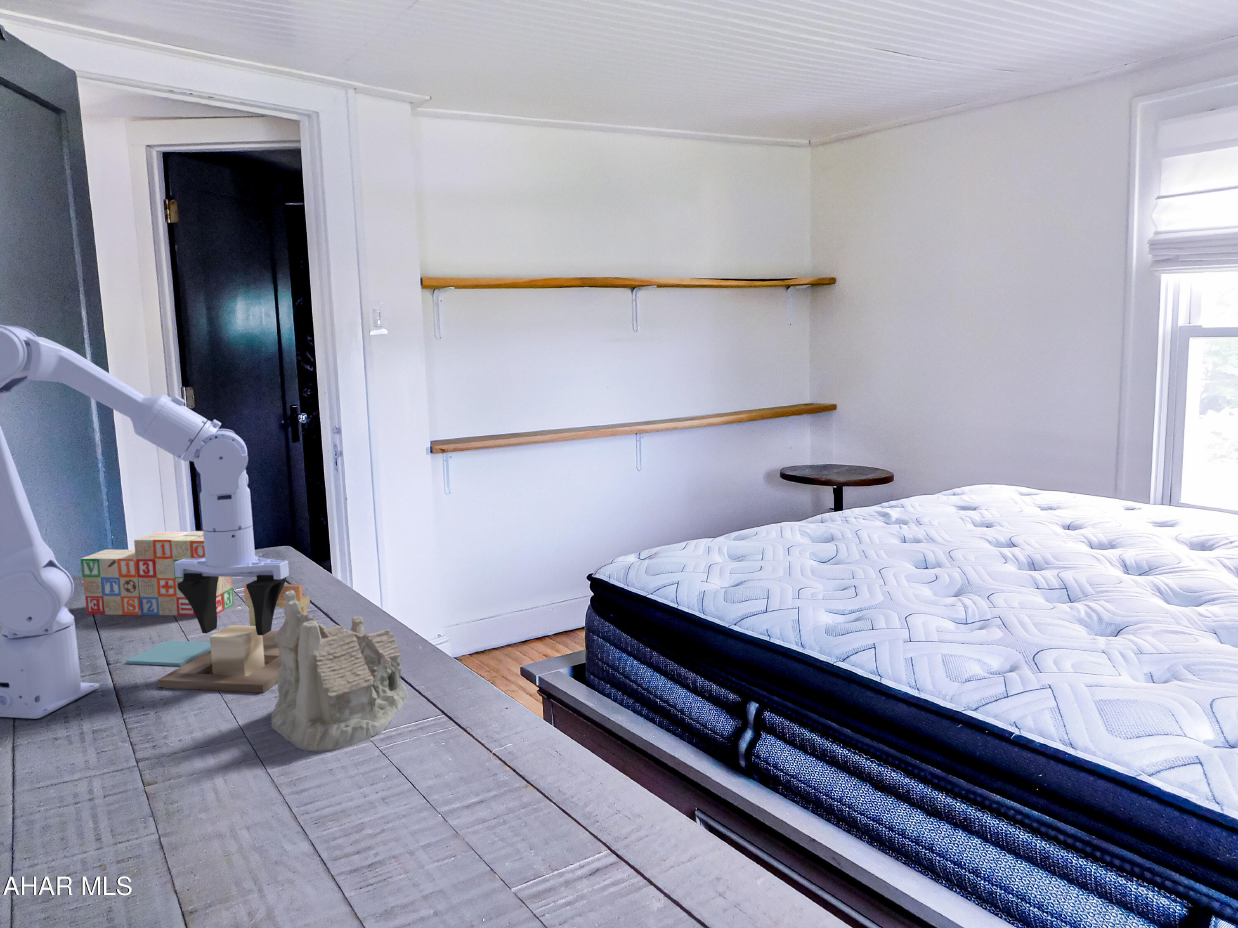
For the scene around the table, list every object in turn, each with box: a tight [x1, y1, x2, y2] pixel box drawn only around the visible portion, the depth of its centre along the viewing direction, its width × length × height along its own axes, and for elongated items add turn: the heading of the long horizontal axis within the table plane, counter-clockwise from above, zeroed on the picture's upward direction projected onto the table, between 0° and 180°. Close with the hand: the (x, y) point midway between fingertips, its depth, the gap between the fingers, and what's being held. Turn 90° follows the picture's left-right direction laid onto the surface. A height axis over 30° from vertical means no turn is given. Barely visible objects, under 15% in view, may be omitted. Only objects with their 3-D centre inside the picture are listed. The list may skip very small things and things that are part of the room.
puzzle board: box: [157, 630, 281, 694], centre depth 114 cm, size 19×14×1 cm
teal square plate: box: [125, 640, 211, 667], centre depth 118 cm, size 8×8×1 cm
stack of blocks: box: [80, 530, 235, 617], centre depth 138 cm, size 21×6×12 cm, turn 86°
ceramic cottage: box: [270, 590, 410, 753], centre depth 97 cm, size 16×16×15 cm
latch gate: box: [243, 582, 311, 626], centre depth 120 cm, size 2×8×8 cm, turn 81°
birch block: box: [209, 624, 266, 676], centre depth 111 cm, size 4×4×6 cm
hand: (236, 631), depth 110 cm, fingers open, 7 cm apart
